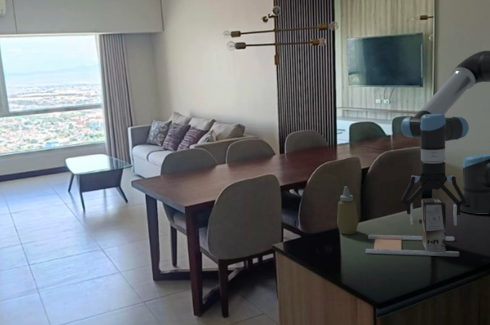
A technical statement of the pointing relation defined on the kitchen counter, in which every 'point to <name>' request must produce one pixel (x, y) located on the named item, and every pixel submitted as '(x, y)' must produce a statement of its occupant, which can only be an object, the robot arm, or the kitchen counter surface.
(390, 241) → the pad
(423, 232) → the coffee box
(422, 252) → the rail
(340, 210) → the squeeze bottle
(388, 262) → the kitchen counter surface
